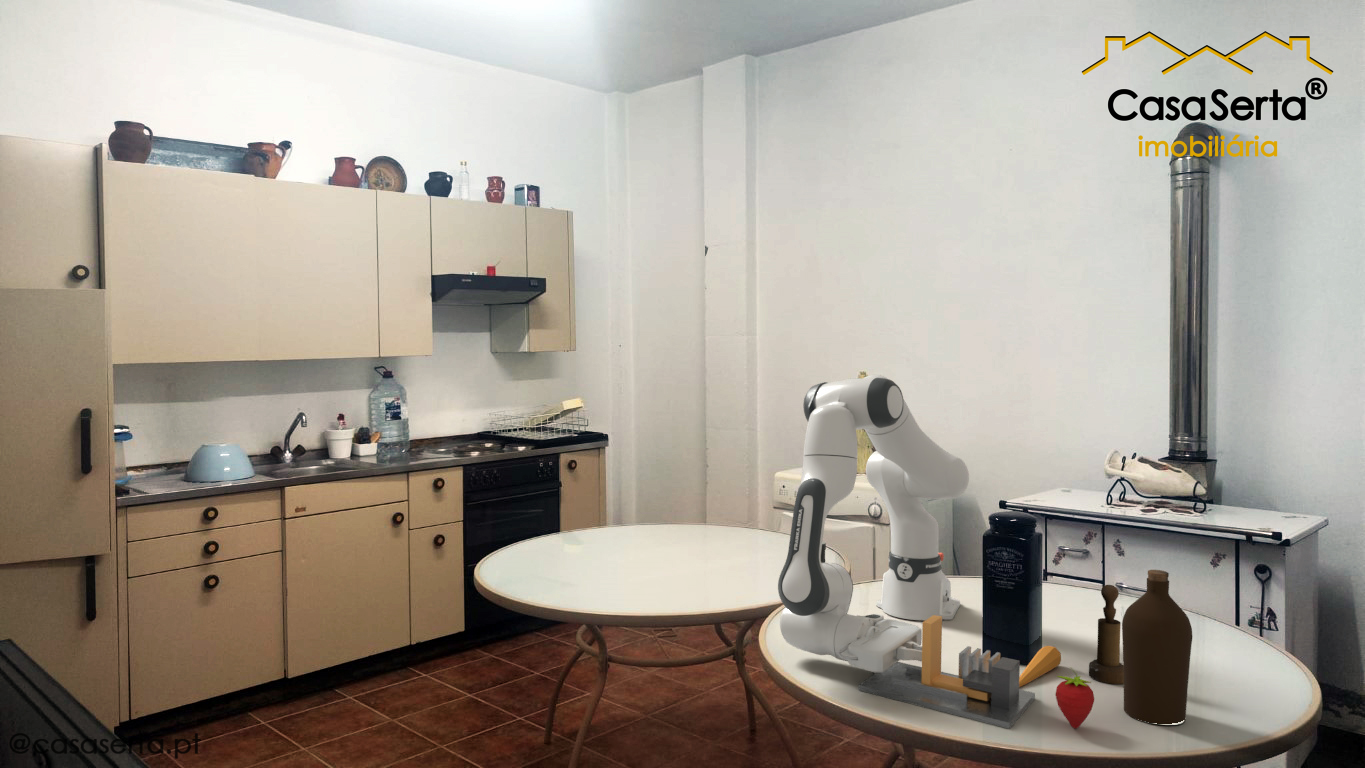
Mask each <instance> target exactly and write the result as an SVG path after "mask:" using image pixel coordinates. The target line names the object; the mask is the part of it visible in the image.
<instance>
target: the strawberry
mask: <svg viewBox="0 0 1365 768" xmlns="http://www.w3.org/2000/svg"><path fill="white" fill-rule="evenodd" d="M1069 668H1070V670H1072V671H1073V672H1074V673H1075V674H1076V675H1075V676H1074V677H1073V678H1072V677H1069V676H1061V675H1056V677H1057V678H1060V679H1062V680H1063V681H1061V682H1059V684H1058V685H1057V686H1056V689H1055V693H1054V694H1055V699H1056V704H1057V706H1058V708H1059V710H1060V711H1061V713H1062V714H1063V716H1064V717H1065V719H1066V721H1068V723H1069V724H1070V726H1071V727H1072V728H1073V729H1079V727H1080V726H1081V725H1082V724H1083V723H1084V721H1086V718H1087V717H1088V716H1089V715H1090V713H1091V712H1092V709H1093V706H1094V703H1095V695H1094V691H1093V690H1092V688H1091V687H1090V685H1088V684H1089V683H1090V684H1091V683H1092V681H1088V680H1085V679H1083V678H1082V677H1081V676H1082V675H1080V676H1079V675H1078V674H1077V673H1076V672H1075V670H1074V669H1073V668H1072V667H1071V666H1070V667H1069Z"/></svg>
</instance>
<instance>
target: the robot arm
mask: <svg viewBox="0 0 1365 768" xmlns="http://www.w3.org/2000/svg"><path fill="white" fill-rule="evenodd" d="M803 399H804V400H803V413H804V416H805V419H806V420H807V425H806V426H807V427H806V430H805V436H804V445H803V457H802V471H801V478H800V484H799V487H798V489H797V493H796V496H795V501H794V506H793V507H794V508H793V515H792V521H791V527H790V528H791V529H790V535H789V544H788V551H787V556H786V559H785V563H784V565H783V567H782V569H781V572H780V575H779V577H778V582H777V590H778V595H779V599H780V600H781V602H782V604H783V606H784V608H783V609H782V611H781V615H780V617H779V618H780V620H779V628H780V632H781V636H782V637H783V639H784V640H785V642H786V643H787V644H789V646H792V647H794V648H796V649H798V650H801V651H804V652H807V653H810V654H814V655H819V656H831V657H833V658H835V659H837V660H840V661H844V662H848V664H849V665H850V666H853V667H856V668H858V669H861V670H865V671H868V672H871V673H874V674H875V673H882V672H884V671H885V670H887V669H888V668H889V667H891V666H892V665H894V664H895V663H896V662H900V661H918V662H922V629H921V628H920V627H919V626H918V625H915V624H912V623H908V622H905V621H901V620H896V619H891V618H884V615H882V614H878V613H873V614H872V613H871V614H867V615H858V614H857V615H854V614H849V613H848V612H849V609H850V605H851V602H852V597H853V593H854V583H853V579H852V576H851V574H850V573H849V572H848V570H847V569H846V568H845V567H844V566H842V565H840V564H838V563H835V562H825V563H821V549H822V542H824V541H823V540H824V532H825V531H824V530H825V525H826V524H825V523H826V520H827V516H828V514H829V513H830V511H831V510H832V509H833V508H834V506H835V505H837V504H838V503H840V502H842V501H844V499H846V498H847V497H848V496H849V495H850V494H851V493H852V492H853V490H854V488H855V483H856V480H857V473H858V436H857V430H864V431H865V432H866V434H867V437H868V438H869V440H870V443H871V445H872V446H873V447H874V449H875V450H874V452H872V454H870V456H869V457H868V459H867V460H866V466H865V475H866V478H867V482H868V483H869V485H870V486H871V487H873V488H874V489H875V491H876V492H877V493H878V494H879V496H880V498H881V499H882V501H883V503H884V506H885V508H886V511H887V514H888V517H889V524H890V526H889V527H890V550H889V552H888V554H889V555H888V560H887V561H888V568H889V569H888V570H887V571H885V572H884V573H883V576H882V587H881V599H878V600H876V603H875V606H877V607H878V608H880V609H881V610H882V611H883V612H884V613H885V614H887V615H889V616H891V617H895V618H899V619H905V620H912V621H913V620H914V621H925V620H927V619H928V618H930V617H931V616H933V615H936V616H942V620H946V621H947V620H949V621H950V620H953V619H954V617H955V615H956V613H957V612H958V609H959V608H960V606H961V601H960V599H957V598H956V597H953V596H951V595H952V594H951V593H952V592H951V591H952V590H951V588H952V586H951V585H952V584H951V581H950V580H949V578H948V576H946V574H945V573H944V572H943V571H942V562H943V561H944V559H945V558H944V557H945V554H944V553H943V552H939V540H940V539H939V538H940V537H939V536H940V535H939V534H940V533H939V531H940V529H939V528H940V527H939V523H938V521H937V519H936V517H934V516H933V515H932V514H931V513H929V512H928V511H927V510H926V509H925V507H924V506H923V504H922V501H921V498H923V499H931V500H937V501H938V500H940V501H941V500H942V501H943V500H953V499H954V500H955V499H959V498H960V497H961V496H962V495H963V494H964V493H965V491H966V490H967V488H968V485H969V481H970V474H969V468H968V466H967V464H966V463H965V462H964V460H963V459H962V458H960V457H958V456H956V455H954V454H952V453H950V452H948V451H946V450H945V449H943V448H942V447H940V446H939V444H937V443H936V442H935V441H933V440H932V439H931V438H930V437H929V436H928V435H927V434H926V433H925V432H924V431H923V429H921V427H920V425H919V424H918V423H917V421H916V419H915V417H914V415H913V414H912V411H911V410H910V408H909V406H908V404H907V403H906V401H905V399H904V396H903V393H902V390H901V388H900V387H899V385H898V384H896V382H895V381H893V380H891V379H889V378H887V377H886V376H884V375H881V374H871V375H870V374H869V375H867V376H865V377H863V378H849V379H843V380H836V381H831V382H826V381H825V382H820V383H817V384H815V385H812V386H811V387H810V388H809V389H808V390H807V392H806V393H805V396H804V398H803Z"/></svg>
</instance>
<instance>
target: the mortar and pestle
mask: <svg viewBox="0 0 1365 768" xmlns="http://www.w3.org/2000/svg"><path fill="white" fill-rule="evenodd" d="M1100 594H1101V596H1102V598H1103V600H1104V602H1105V606H1104V607H1103V608H1102V609H1103V616H1104V618H1098V619H1097V643H1096V644H1097V647H1096V648H1097V651H1096V659H1095V658H1094V660H1092V661H1090V662H1089V664H1088V666H1089V667H1088V676H1089V677H1090V678H1091V679H1093V680H1095V681H1097V682H1101V683H1104V684H1105V683H1106V684H1110V685H1111V684H1112V685H1124V672H1123V663H1122V662H1120V659H1121V655H1120V652H1121V651H1120V649H1121V627H1122V622H1121V621H1120V620H1117V619H1115V617H1116V613H1117V609H1116V608H1115V602H1116V601H1117V600H1118V598H1119V589H1118V588H1117V587H1116V586H1115V585H1112V584H1105V585H1103V587H1102V588H1101V591H1100Z"/></svg>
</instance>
